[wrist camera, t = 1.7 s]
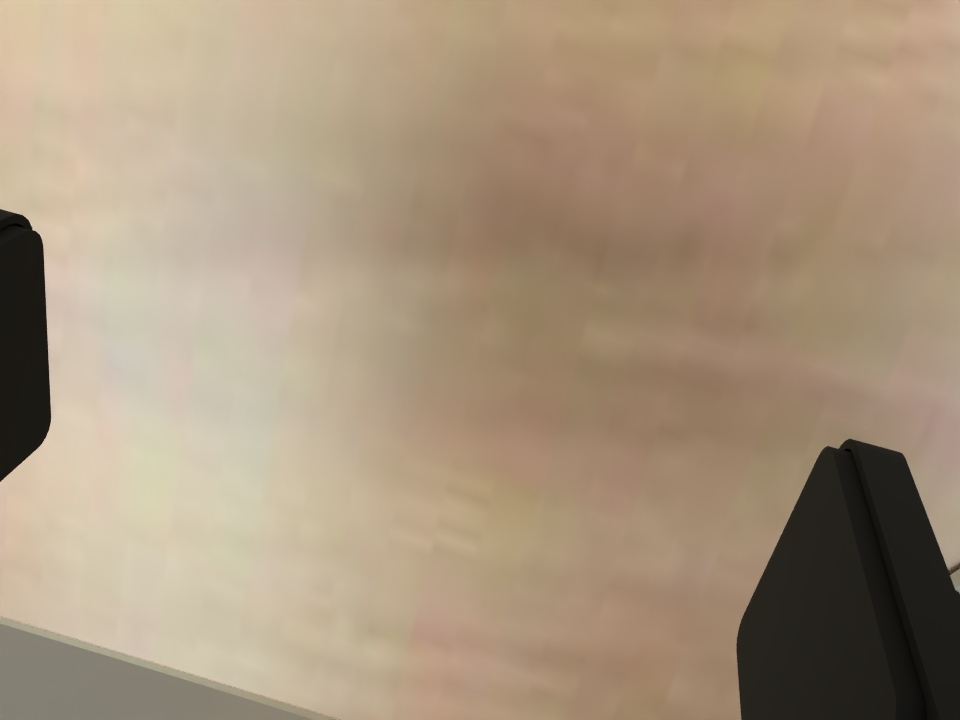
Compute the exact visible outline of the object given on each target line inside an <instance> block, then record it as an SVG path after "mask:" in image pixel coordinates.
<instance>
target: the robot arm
mask: <svg viewBox="0 0 960 720" xmlns="http://www.w3.org/2000/svg"><path fill="white" fill-rule="evenodd" d="M50 423H51V406H50V384H49V363H48V341H47V319H46V297H45V275H44V253H43V243H42V239H41V237H40V235H39V234H38V233H37V232H36V231H33V230H32V227H31V225H30V222H29V220H28V219H27V218H25V217H24V216H23V215H20V214H16V213H12V212H8V211H5V210H1V209H0V482H1V481H2V480H3V479H4V478H5V477H6V476H7V475H8V474H9V473H11V472H12V471H13V470H14V469H15V468H16V467H17V466H18V465H19V464H21V463H22V462H23V461H24V460H25V459H26V458H27V457H28V456H29V455H31V454H32V453H33V452H34V451H35V450H36V449H37V448H38V447H39V446H40V445H41V444H42V442H43V441H44V439H45V438H46V435H47V433H48V431H49V427H50ZM737 663H738V677H739V691H740V705H741V719H742V720H960V569H959V570H957V571H956V572H954V573H953V574H951V575H950V574H949V572H948V569H947V566H946V564H945V561H944V559H943V556H942V553H941V551H940V548H939V545H938V543H937V540H936V538H935V535H934V532H933V530H932V527H931V524H930V522H929V519H928V517H927V514H926V511H925V509H924V506H923V503H922V501H921V498H920V496H919V493H918V490H917V488H916V485H915V482H914V480H913V477H912V475H911V472H910V469H909V467H908V464H907V461H906V459H905V457H904V456H903V454H902V453H900V452H897V451H893V450H889V449H885V448H882V447H878V446H874V445H871V444H867V443H863V442H860V441H856V440H852V439H848V440H846V441H845V442H844V443H843V444H842V445H841V446H840V448H839V449H836V448H833V447H829V446H827V447H825V448H824V449H823V450H822V452H821V453H820V455H819V457H818V459H817V461H816V463H815V465H814V467H813V469H812V471H811V473H810V475H809V478H808V480H807V482H806V484H805V486H804V488H803V490H802V492H801V494H800V497H799V499H798V501H797V503H796V505H795V507H794V509H793V511H792V514H791V516H790V518H789V520H788V522H787V524H786V526H785V528H784V530H783V533H782V535H781V537H780V539H779V541H778V543H777V545H776V547H775V550H774V552H773V554H772V556H771V558H770V560H769V562H768V564H767V566H766V569H765V571H764V573H763V575H762V577H761V579H760V581H759V583H758V586H757V588H756V590H755V592H754V594H753V596H752V598H751V600H750V602H749V605H748V607H747V609H746V611H745V613H744V615H743V618H742V620H741V623H740V627H739V631H738V636H737ZM0 720H340V719H337V718H333V717H330V716H327V715H324V714H320V713H317V712H314V711H311V710H307V709H304V708H301V707H298V706H294V705H291V704H288V703H284V702H281V701H278V700H275V699H271V698H268V697H265V696H262V695H258V694H255V693H252V692H248V691H245V690H242V689H239V688H235V687H232V686H229V685H226V684H222V683H219V682H216V681H213V680H209V679H206V678H203V677H199V676H196V675H193V674H190V673H186V672H183V671H180V670H177V669H173V668H170V667H167V666H163V665H160V664H157V663H154V662H150V661H147V660H144V659H140V658H137V657H134V656H130V655H127V654H124V653H121V652H117V651H114V650H111V649H107V648H104V647H101V646H98V645H94V644H91V643H88V642H84V641H81V640H78V639H74V638H71V637H68V636H65V635H61V634H58V633H55V632H51V631H48V630H45V629H41V628H38V627H35V626H32V625H28V624H25V623H22V622H18V621H15V620H12V619H8V618H5V617H2V616H0Z"/></svg>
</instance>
